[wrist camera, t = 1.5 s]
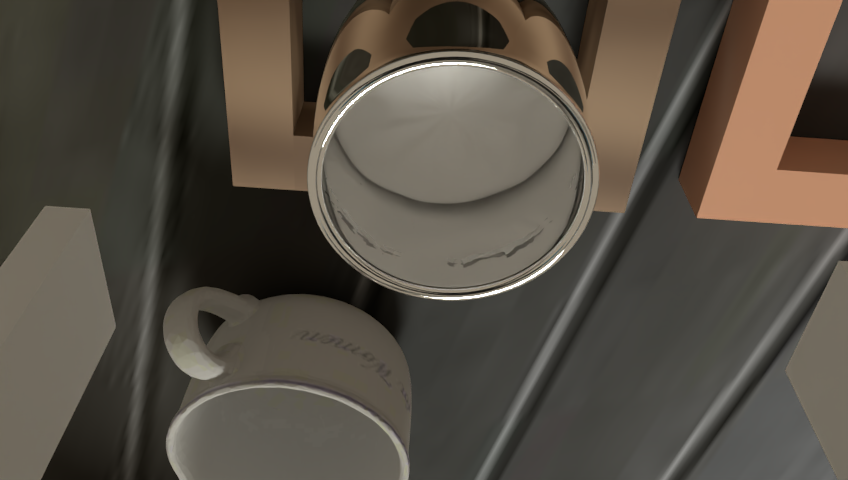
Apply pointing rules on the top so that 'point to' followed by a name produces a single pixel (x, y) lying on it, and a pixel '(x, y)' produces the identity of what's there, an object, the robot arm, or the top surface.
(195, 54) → the top surface
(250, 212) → the top surface
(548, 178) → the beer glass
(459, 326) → the top surface
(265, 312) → the teacup
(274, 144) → the walnut holder
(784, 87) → the terracotta holder
